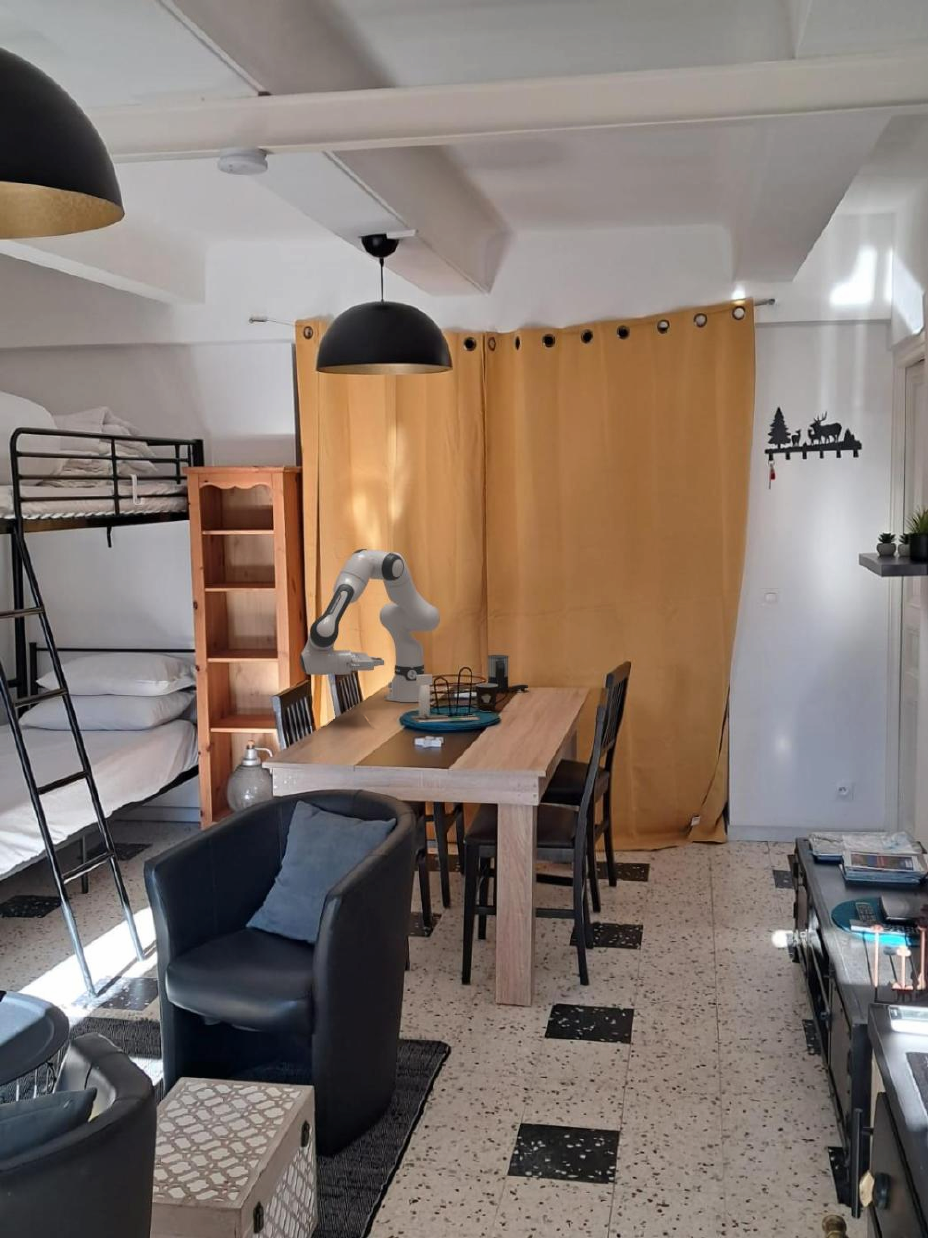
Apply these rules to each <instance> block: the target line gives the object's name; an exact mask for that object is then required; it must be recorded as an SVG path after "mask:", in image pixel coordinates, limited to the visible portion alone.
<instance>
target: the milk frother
mask: <svg viewBox="0 0 928 1238" xmlns="http://www.w3.org/2000/svg"><path fill="white" fill-rule="evenodd" d="M509 657H510V656H509V655H508V654H490V655H489V654H488V655H487V683H490V684H497V685H498V689H497V690H499V689H502V688H503V689H505V690H507V692H509V690H513V691H514V690H515V691H516V690H520V691H521V692H523V691H525V689H528V688H529V685H528V684H518V685H513V686H511V687H509ZM503 692H505V691H504V690H500V691H499V692H498V693H503Z"/></svg>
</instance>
